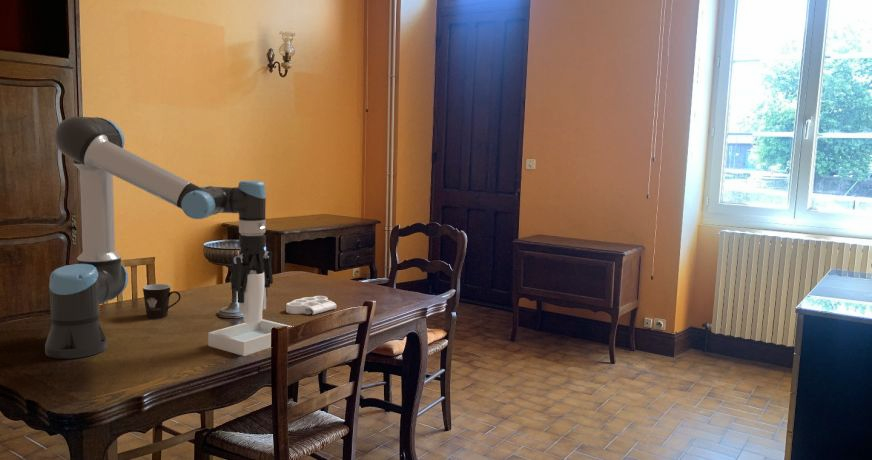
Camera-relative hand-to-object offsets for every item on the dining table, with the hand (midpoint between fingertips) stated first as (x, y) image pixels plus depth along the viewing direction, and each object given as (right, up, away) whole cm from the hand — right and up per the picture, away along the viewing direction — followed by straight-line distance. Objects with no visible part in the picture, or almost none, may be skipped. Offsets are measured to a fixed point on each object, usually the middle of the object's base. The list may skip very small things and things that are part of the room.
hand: (252, 310), depth 198 cm
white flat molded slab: (+9, -5, +43) cm, 44 cm away
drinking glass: (0, -4, 0) cm, 4 cm away
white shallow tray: (0, -10, +1) cm, 10 cm away
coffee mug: (-38, -5, +26) cm, 46 cm away
